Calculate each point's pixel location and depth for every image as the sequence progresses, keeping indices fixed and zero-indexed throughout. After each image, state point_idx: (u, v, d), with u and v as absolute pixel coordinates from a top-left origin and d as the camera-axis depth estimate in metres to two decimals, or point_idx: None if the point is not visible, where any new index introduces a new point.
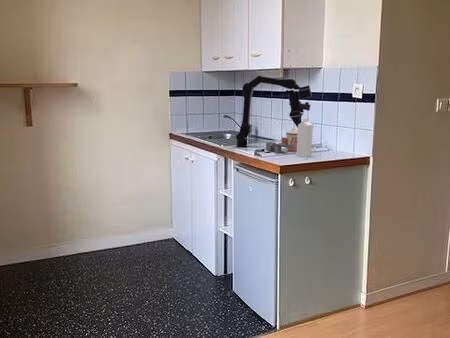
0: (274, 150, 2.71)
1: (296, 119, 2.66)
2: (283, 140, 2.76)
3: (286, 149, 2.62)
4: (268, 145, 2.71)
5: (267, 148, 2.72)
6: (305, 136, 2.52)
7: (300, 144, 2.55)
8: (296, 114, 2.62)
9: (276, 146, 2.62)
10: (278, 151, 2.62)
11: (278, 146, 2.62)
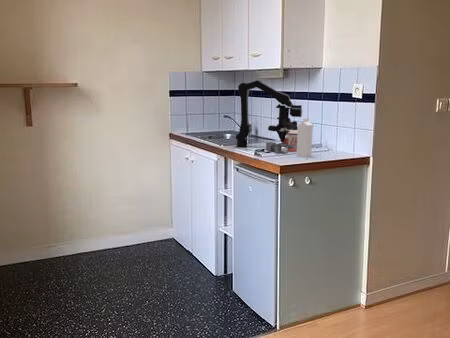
0: (274, 150, 2.71)
1: (280, 134, 2.74)
2: (284, 140, 2.77)
3: (286, 149, 2.62)
4: (268, 145, 2.71)
5: (267, 148, 2.72)
6: (305, 136, 2.52)
7: (300, 144, 2.55)
8: (271, 129, 2.68)
9: (276, 146, 2.62)
10: (278, 151, 2.62)
11: (278, 146, 2.62)
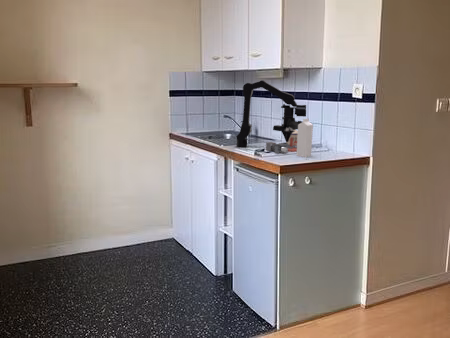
0: (274, 150, 2.71)
1: (285, 133, 2.76)
2: None
3: (286, 149, 2.62)
4: (268, 145, 2.71)
5: (267, 148, 2.72)
6: (305, 136, 2.52)
7: (300, 144, 2.55)
8: (277, 129, 2.70)
9: (276, 146, 2.62)
10: (278, 151, 2.62)
11: (278, 146, 2.62)
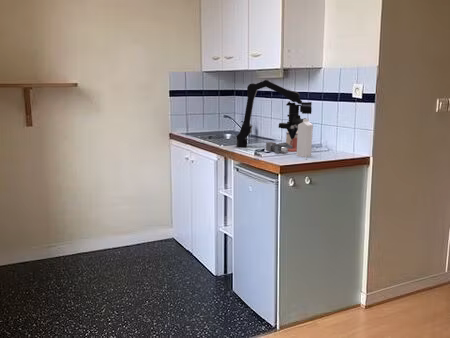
0: (274, 150, 2.71)
1: (291, 131, 2.76)
2: None
3: (286, 149, 2.62)
4: (268, 145, 2.71)
5: (267, 148, 2.72)
6: (305, 136, 2.52)
7: (300, 144, 2.55)
8: (282, 127, 2.70)
9: (276, 146, 2.62)
10: (278, 151, 2.62)
11: (278, 146, 2.62)
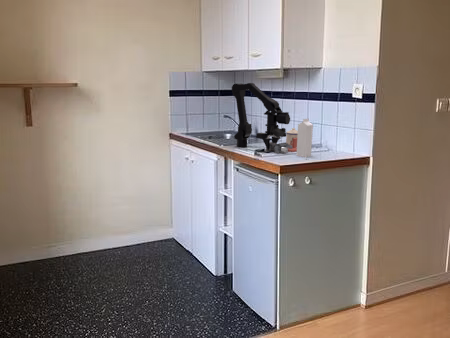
0: (274, 150, 2.71)
1: (266, 141, 2.69)
2: None
3: (286, 149, 2.62)
4: None
5: None
6: (305, 136, 2.52)
7: (300, 144, 2.55)
8: (260, 137, 2.65)
9: (276, 146, 2.62)
10: (278, 151, 2.62)
11: (278, 146, 2.62)
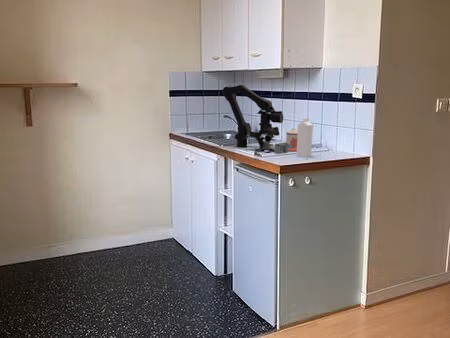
0: (267, 148, 2.76)
1: (260, 140, 2.74)
2: None
3: None
4: None
5: None
6: (305, 136, 2.52)
7: (300, 144, 2.55)
8: (253, 135, 2.69)
9: (276, 146, 2.62)
10: (278, 151, 2.62)
11: (278, 146, 2.62)
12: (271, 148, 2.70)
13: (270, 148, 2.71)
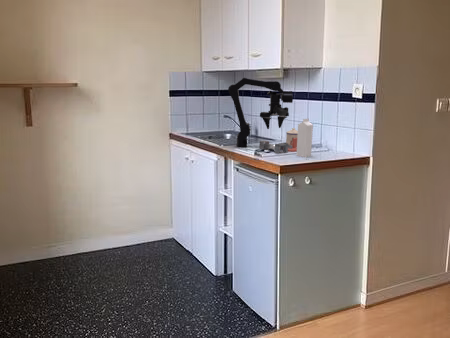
0: (267, 148, 2.76)
1: (266, 120, 2.76)
2: None
3: None
4: (261, 143, 2.75)
5: (260, 146, 2.76)
6: (305, 136, 2.52)
7: (300, 144, 2.55)
8: (263, 116, 2.72)
9: (276, 146, 2.62)
10: (278, 151, 2.62)
11: (278, 146, 2.62)
12: (271, 148, 2.70)
13: (270, 148, 2.71)
